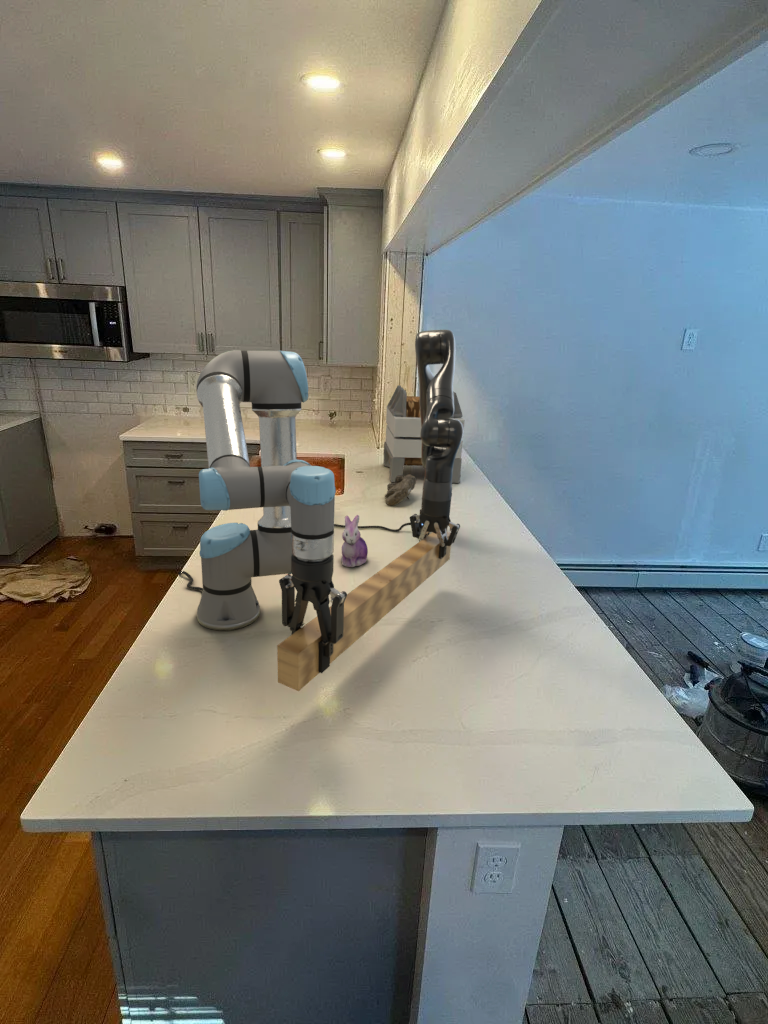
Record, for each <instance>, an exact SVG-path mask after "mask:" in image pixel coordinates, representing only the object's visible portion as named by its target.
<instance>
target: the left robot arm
mask: <svg viewBox="0 0 768 1024" xmlns="http://www.w3.org/2000/svg"><path fill="white" fill-rule="evenodd" d="M307 375H308V374H307V371H306V367H305V364H304V361H303V359H302V357H301V356H300V354H299V353H298V352H295V351H288V350H286V351H285V350H241V349H233V350H228V351H224V352H222V353H219V354H218V355H216V356H214V357H213V358H212V359H211V360H210V361H209V362H208V363H206V365H205V366H204V367H203V369H202V370H201V371H200V374H199V376H198V378H197V381H196V397H197V401H198V403H199V404H200V405H201V407H202V411H203V422H204V433H205V443H206V445H205V446H206V454H207V466H208V468H202V469H200V471H199V472H198V483H199V484H198V485H199V500H200V501H199V502H200V506H201V508H202V509H203V510H205V511H232V510H244V509H247V510H248V509H258V508H259V509H260V508H262V511H263V515H262V517H261V518H259V520H257V529H251V528H250V527H249V526H248V525H247V524H245V523H242V522H240V523H239V522H227V523H222V524H219V525H215V526H213V527H211V528H210V529H208V530H206V531H205V532H203V534H202V535H201V537H200V540H199V541H200V542H199V557H200V563H201V579H202V587H200V586H193V585H192V584H193V583H194V578H193V576H192V575H191V574H190V573H188V572H187V571H185V570H180V571H178V573H177V574H178V575H182V574H183V575H185V576H186V577H187V578H188V579H189V581H188V583H187V584H186V588H187V589H190V590H195V591H201V592H202V593H201V596H200V600H199V604H198V606H197V610H196V618H197V622H198V623H199V624H200V626H202V627H204V628H207V629H210V630H214V631H234V630H239V629H242V628H244V627H247V626H249V625H251V624H253V623H254V622H256V621H257V620H258V618H259V617H260V614H261V608H260V603H259V600H258V598H257V596H256V595H257V594H256V593H255V590H254V588H253V585H252V578H258V577H268V576H269V577H270V576H279V575H284V576H283V577H280V579H278V584H279V586H280V590H281V624H282V626H283V627H287V628H289V630H290V632H291V635H292V634H293V633H295V632H296V631H298V630H299V629H300V628H302V627H303V626H304V625H306V623H305V622H304V621H305V616H306V613H307V609H308V605H309V603H311V604H312V607H313V610H314V611H315V612H316V617H318V622H319V627H320V631H321V636H322V640H321V641H320V642H319V672H320V673H319V674H323V673H325V671H326V670H328V668H330V667H331V663H330V656H331V655H332V654H333V647H334V644H336V643H337V642H338V641H339V640H340V639H341V638H342V637H343V630H344V602H345V599H346V597H347V594H348V593H347V592H346V591H345V590H342V591H339V590H338V589H337V588H335V585H334V582H333V575H334V563H335V562H334V560H335V558H334V552H335V526H334V524H335V504H336V503H335V501H336V500H335V499H336V493H337V489H336V485H335V483H336V482H335V474H334V472H333V470H331V469H330V468H326V467H325V466H319V465H311V464H310V462H308V461H307V460H303V459H298V458H297V457H298V455H297V454H298V453H297V452H298V451H297V425H296V417H297V415H298V414H299V413H300V412H301V411H302V403H305V402H308V399H309V382H308V377H307ZM241 403H251V411H252V412H253V413H254V414H255V415H256V416H257V417H258V424H259V425H258V426H259V447H260V450H259V451H260V466H251V465H250V459H249V458H250V457H249V451H248V447H247V440H246V435H245V428H244V423H243V416H242V411H241ZM182 571H183V572H182ZM181 572H182V573H181ZM180 573H181V574H180ZM329 596H330V597H329ZM330 603H331V606H330ZM329 607H331V614H330V609H329ZM291 635H290V636H291Z"/></svg>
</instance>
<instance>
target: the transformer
mask: <svg viewBox="0 0 768 1024" xmlns="http://www.w3.org/2000/svg"><path fill="white" fill-rule="evenodd" d="M407 394H408V393H407V390H406V389H404V388H403V387H402V385H399V384H398V385H397V386H396V388H395V390H394V392H393V394H392V395H391V398H390V400H389V402H388V404H387V405H386V413H385V414H386V415H385V423H386V428H385V438H384V442H383V466H384V467H388V468H389V475H388V476H389V477H388V478H389V480H390V483H394V482H395V478H396V476H397V475H404V469H405V466H406V467H407V466H411V467H412V466H413V467H415V466H416V467H417V466H418V467H423V465H422V461H421V448H422V440H421V437H420V432H421V417H420V404H419V395H418V396H415V395H414V396H413V395H412V396H411V395H407ZM453 397H454V414H453V416H452V417H451V418H450V419H457V420H459V421H460V422H461V423H462V425H463V429H465V419H464V418H463V411H462V408H461V405H460V402H459V398H458V395H457V392H455V391H454V390H453ZM463 442H464V441H463V440H462V441H461V443H460V446H459V448H458V451H457V453H456V456H455V460H454V464H453V473H452V484H455V483H456V484H459V483H461V472H462V461H463V460H462V453H463Z"/></svg>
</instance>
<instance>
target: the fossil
mask: <svg viewBox="0 0 768 1024" xmlns="http://www.w3.org/2000/svg"><path fill="white" fill-rule="evenodd" d="M416 483H417V479H416V476H415V475H412V474H411V473H409V474H406V475H404V474H403V475H397V476H396V478H395V482H389V483H388V484H387V485H386V489H387V491H386V493H385V494H384V498H385V500H384V502H385V504H386V506H396V505H399V504H400V503H402V501H404V500H405V499H406V498H407V499H408V500H409V499H410V498H409V495H410V494H411V492H412V491H413V490H414V489H415V487H416Z"/></svg>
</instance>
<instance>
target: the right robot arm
mask: <svg viewBox="0 0 768 1024" xmlns="http://www.w3.org/2000/svg"><path fill="white" fill-rule="evenodd" d="M414 349H415V350H414V351H415V359H416V365H417V366H416V367H417V376H418V377H417V378H418V392H419V393H418V397H419V404H420V417H421V432H420V437H421V440H422V448H421V461H422V465H423V466H422V467H423V468H424V479H423V484H422V492H421V493H422V495H421V496H422V497H421V508H420V509H419V514H417V513H413V514H412V515H410V517H409V522H405V523H403V524H401V525H400V526H399V528H396V529H393V528H388V527H386V526H382V525H358V526H357V527H358V529H381V530H385V531H388V532H393V533H397V532H400V531H402V529H403V528H404V527H407V526H410V528H411V534H412V537H413V538H416V539H417V540H418V542H420V541H421V540H423V539H424V538H425V537H427V536H428V535H429V534H431V533H432V532H433V533H435V534H437V537H438V539H439V542H440V546H439V557H438V558H439V559H442V558H443V557H444V556H445V555H446V550H447V546H451V547H452V545H453V544H454V543H455V542H456V539H457V536H458V534H459V532H460V528H461V524H460V523H454V522H452V520H451V518H450V514H451V505H452V497H453V483H452V473H453V464H454V460H455V456H456V453H457V451H458V448H459V446H460V443H461V441H463V438H464V433H465V432H464V431H465V430H464V429H465V428H464V429H463V425H462V423H461V422H460V421H459V420H457V419H450V418H451V417H452V416H453V414H454V397H453V391H454V381H455V371H456V369H455V368H456V352H457V351H456V339H455V335H454V332H453V331H452V330H451V329H430V330H423V331H419V332H417V333H416V336H415V340H414ZM431 365H441V367H440V368H439V370H438V372H437V373H436V374H435V375H434V373H433V372H432V370H431V367H430V366H431ZM334 527H335V528H344V529H345V524H337V523H334ZM448 527H449V532H450V536H449V538H448V539H447V532H448Z"/></svg>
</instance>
